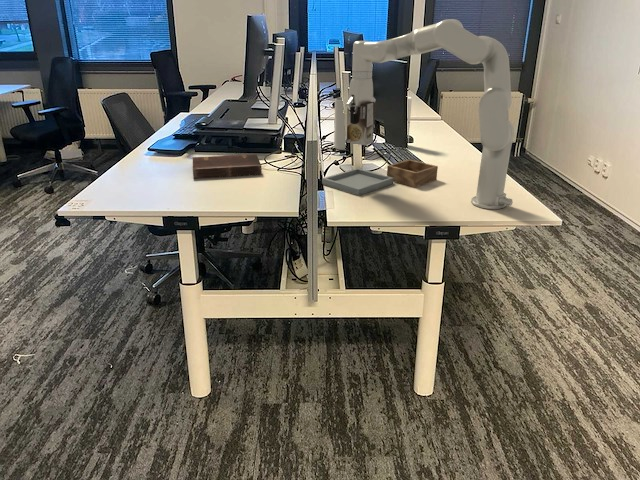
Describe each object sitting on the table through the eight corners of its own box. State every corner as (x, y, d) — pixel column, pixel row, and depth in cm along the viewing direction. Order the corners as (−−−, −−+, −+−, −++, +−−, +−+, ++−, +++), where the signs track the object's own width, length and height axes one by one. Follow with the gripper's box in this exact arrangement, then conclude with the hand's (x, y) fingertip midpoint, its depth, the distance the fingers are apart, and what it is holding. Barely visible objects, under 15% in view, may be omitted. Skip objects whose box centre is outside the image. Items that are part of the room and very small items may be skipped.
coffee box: (373, 142, 210) (375, 101, 203) (366, 145, 205) (367, 103, 198) (353, 139, 214) (354, 99, 208) (345, 143, 209) (346, 101, 203)
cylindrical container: (407, 147, 274) (411, 98, 264) (394, 146, 275) (397, 98, 265) (408, 144, 280) (412, 96, 270) (395, 143, 282) (398, 96, 272)
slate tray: (393, 183, 217) (393, 177, 216) (358, 195, 203) (358, 189, 202) (357, 173, 230) (357, 168, 229) (322, 184, 216) (322, 178, 215)
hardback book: (193, 180, 221) (192, 168, 219) (193, 168, 238) (192, 157, 236) (261, 176, 227) (261, 165, 225) (257, 164, 244) (256, 154, 242)
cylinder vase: (356, 151, 266) (358, 101, 256) (332, 150, 268) (333, 100, 258) (359, 145, 277) (360, 97, 267) (335, 144, 279) (336, 96, 269)
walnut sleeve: (436, 179, 222) (437, 166, 220) (415, 187, 212) (416, 173, 210) (407, 172, 232) (408, 159, 229) (386, 179, 222) (387, 165, 220)
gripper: (369, 73, 207) (367, 118, 214) (339, 76, 196) (338, 123, 203) (384, 74, 202) (381, 120, 209) (354, 78, 191) (352, 126, 198)
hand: (360, 121), depth 206 cm, fingers closed on coffee box, 7 cm apart
